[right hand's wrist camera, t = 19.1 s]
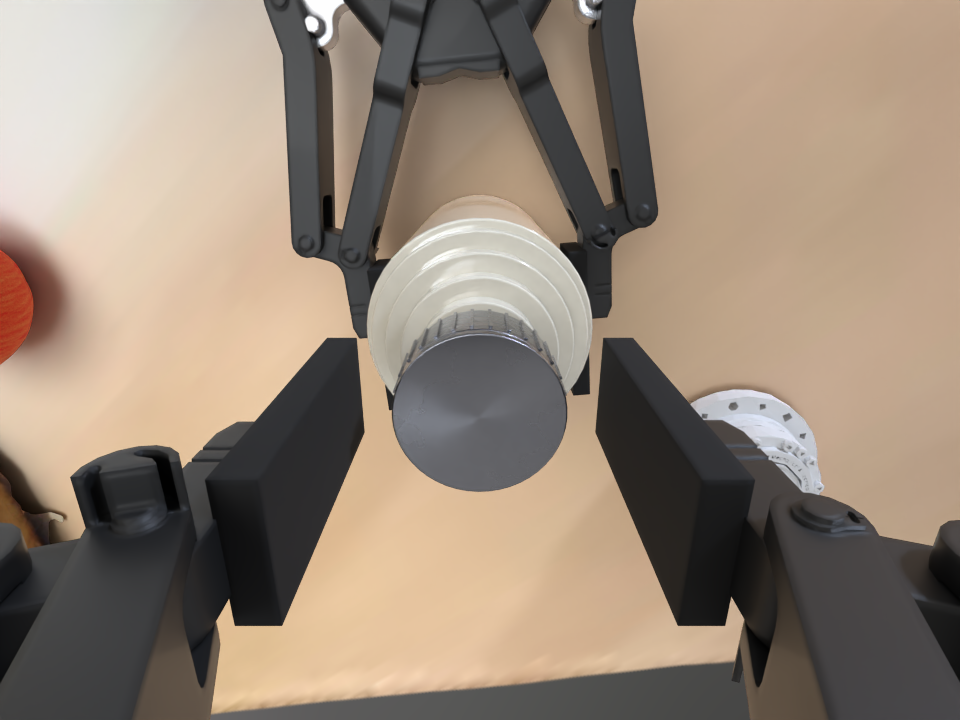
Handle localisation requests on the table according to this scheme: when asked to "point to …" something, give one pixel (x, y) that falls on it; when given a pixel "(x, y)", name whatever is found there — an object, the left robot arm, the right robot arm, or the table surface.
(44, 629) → the right robot arm
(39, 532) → the bread
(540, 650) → the table surface
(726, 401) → the mechanical component
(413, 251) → the bottle
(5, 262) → the apple
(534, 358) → the cap
